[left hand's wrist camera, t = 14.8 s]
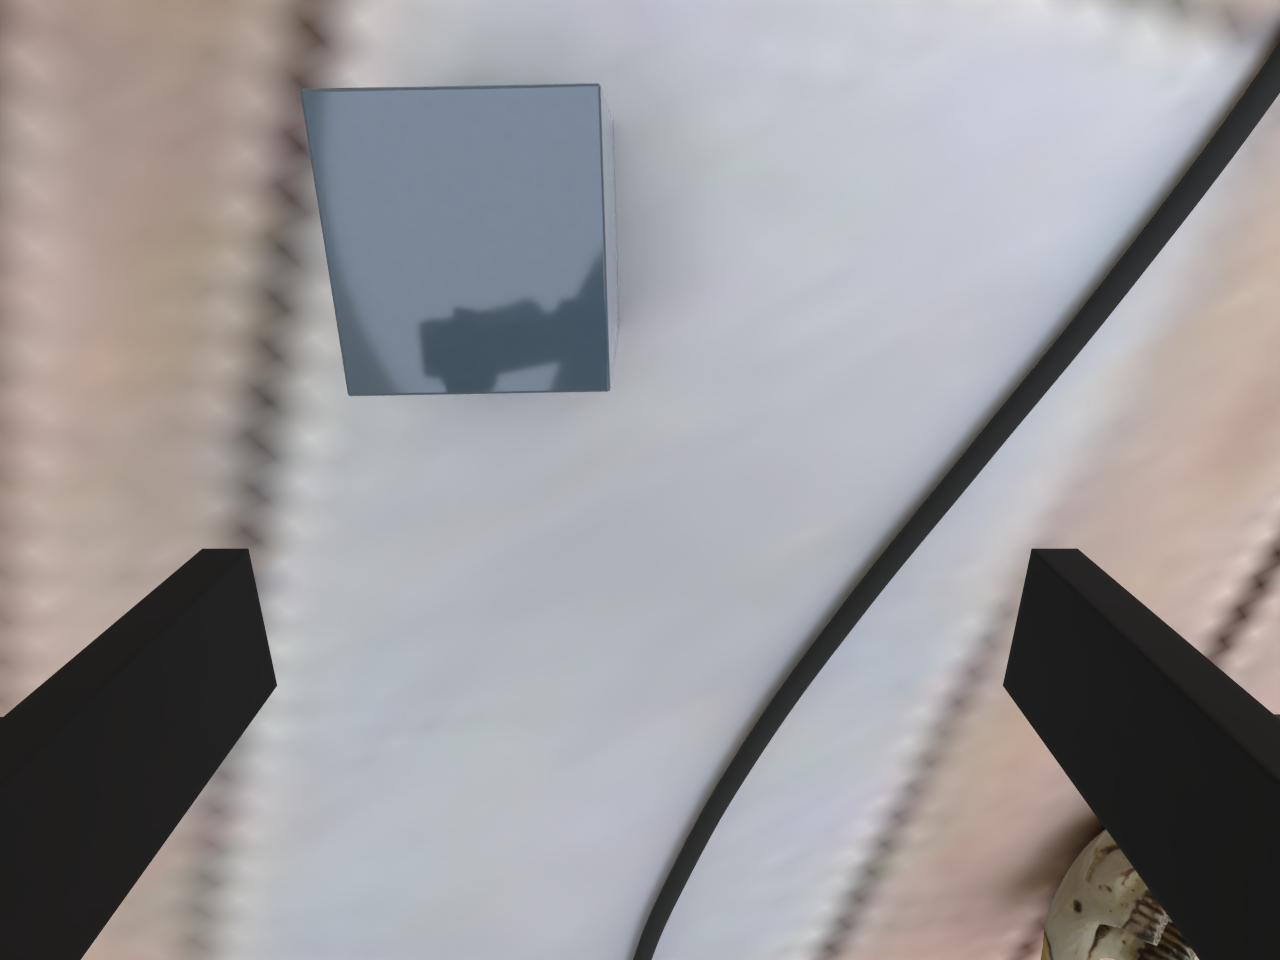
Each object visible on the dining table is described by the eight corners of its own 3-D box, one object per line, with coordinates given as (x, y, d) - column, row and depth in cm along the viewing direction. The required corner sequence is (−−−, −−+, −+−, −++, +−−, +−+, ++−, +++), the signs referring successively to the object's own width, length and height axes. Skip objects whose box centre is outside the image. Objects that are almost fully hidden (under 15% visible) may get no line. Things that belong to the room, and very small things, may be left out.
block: (436, 333, 29) (347, 397, 20) (412, 122, 26) (298, 88, 17) (618, 329, 29) (610, 392, 20) (612, 118, 26) (600, 82, 17)
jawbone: (950, 965, 34) (1211, 1142, 25) (1104, 706, 39) (1360, 778, 31) (1029, 1070, 37) (1284, 1260, 28) (1160, 817, 42) (1408, 911, 34)
